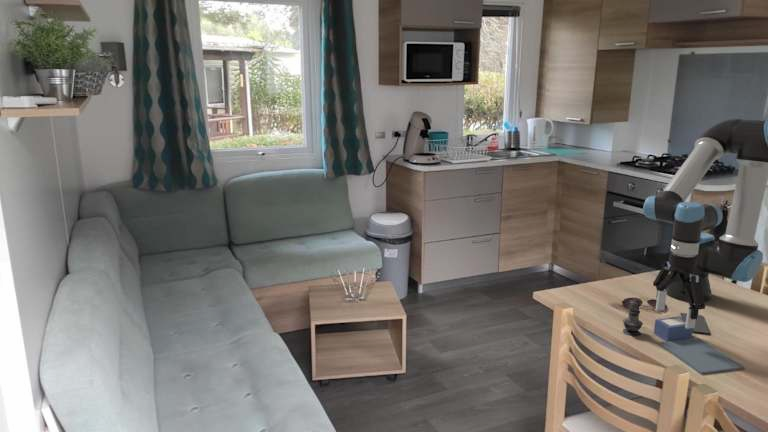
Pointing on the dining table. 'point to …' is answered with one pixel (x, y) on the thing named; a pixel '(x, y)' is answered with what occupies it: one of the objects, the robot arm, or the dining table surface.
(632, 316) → the salt shaker
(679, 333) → the card deck
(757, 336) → the dining table surface
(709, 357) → the mat
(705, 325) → the smartphone
